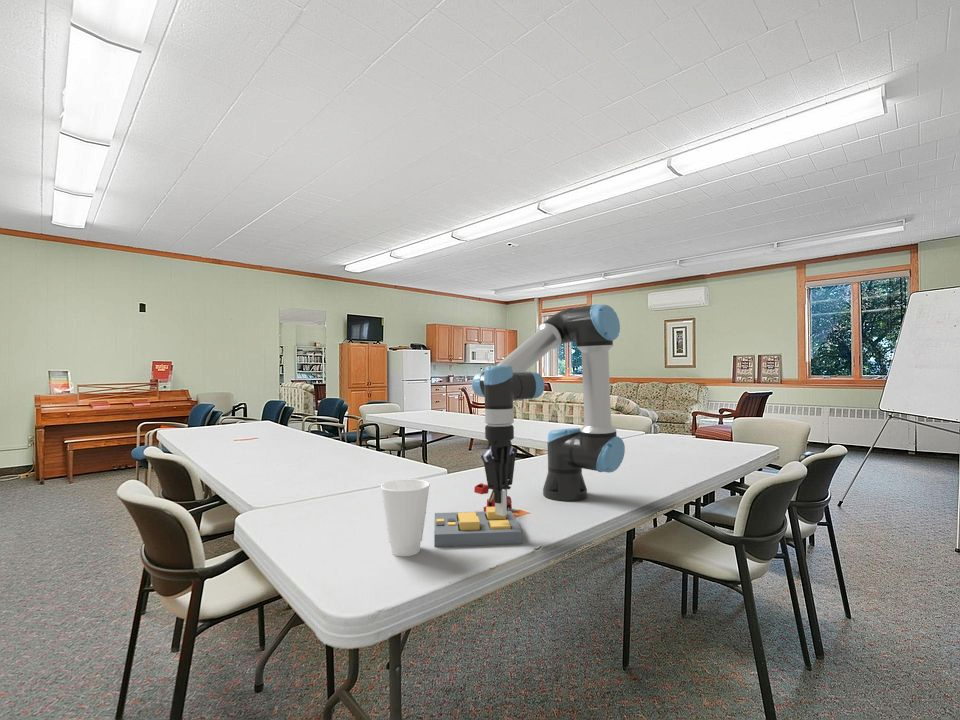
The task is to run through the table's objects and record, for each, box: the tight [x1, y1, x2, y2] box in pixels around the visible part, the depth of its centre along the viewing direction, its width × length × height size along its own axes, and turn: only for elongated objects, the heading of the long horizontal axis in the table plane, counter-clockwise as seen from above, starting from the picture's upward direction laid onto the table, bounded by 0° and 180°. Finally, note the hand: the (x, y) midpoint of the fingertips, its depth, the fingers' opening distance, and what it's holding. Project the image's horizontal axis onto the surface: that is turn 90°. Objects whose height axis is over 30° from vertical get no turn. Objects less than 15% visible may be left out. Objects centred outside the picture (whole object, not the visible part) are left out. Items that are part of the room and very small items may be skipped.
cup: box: [380, 478, 431, 557], centre depth 116 cm, size 12×12×16 cm
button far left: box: [485, 506, 506, 520], centre depth 133 cm, size 5×5×3 cm
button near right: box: [459, 516, 480, 531], centre depth 125 cm, size 5×5×3 cm
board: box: [433, 510, 523, 548], centre depth 129 cm, size 22×18×3 cm
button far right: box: [458, 511, 477, 521], centre depth 133 cm, size 5×5×3 cm
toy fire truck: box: [473, 482, 513, 512], centre depth 146 cm, size 3×14×10 cm, turn 134°
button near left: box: [489, 520, 511, 530], centre depth 125 cm, size 5×5×3 cm
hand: (501, 514), depth 126 cm, fingers closed
